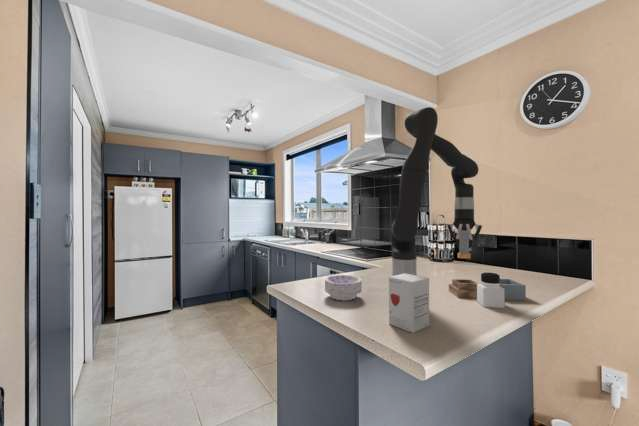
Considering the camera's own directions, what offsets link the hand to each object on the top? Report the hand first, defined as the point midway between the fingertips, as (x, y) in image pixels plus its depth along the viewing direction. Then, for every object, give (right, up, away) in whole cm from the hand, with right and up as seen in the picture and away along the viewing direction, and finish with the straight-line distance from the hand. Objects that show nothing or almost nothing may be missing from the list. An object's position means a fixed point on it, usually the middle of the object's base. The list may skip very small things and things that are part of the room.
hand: (464, 247), depth 120 cm
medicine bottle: (+2, -20, -15) cm, 25 cm away
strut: (0, -4, 0) cm, 4 cm away
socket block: (0, -20, 0) cm, 20 cm away
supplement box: (-35, -20, -34) cm, 52 cm away
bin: (+15, -20, -3) cm, 25 cm away
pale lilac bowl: (-53, -20, -5) cm, 57 cm away
